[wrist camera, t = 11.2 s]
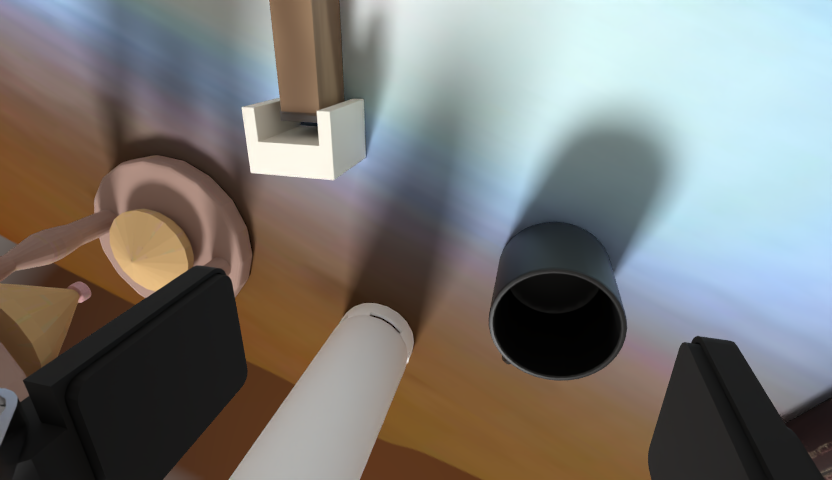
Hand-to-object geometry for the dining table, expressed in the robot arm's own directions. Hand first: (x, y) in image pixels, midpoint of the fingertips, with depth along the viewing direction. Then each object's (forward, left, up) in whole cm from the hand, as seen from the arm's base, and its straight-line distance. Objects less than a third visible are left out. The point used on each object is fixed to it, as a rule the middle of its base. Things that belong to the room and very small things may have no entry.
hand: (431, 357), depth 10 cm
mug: (-4, +14, -31) cm, 34 cm away
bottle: (+12, +23, -31) cm, 40 cm away
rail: (+16, -8, -30) cm, 35 cm away
